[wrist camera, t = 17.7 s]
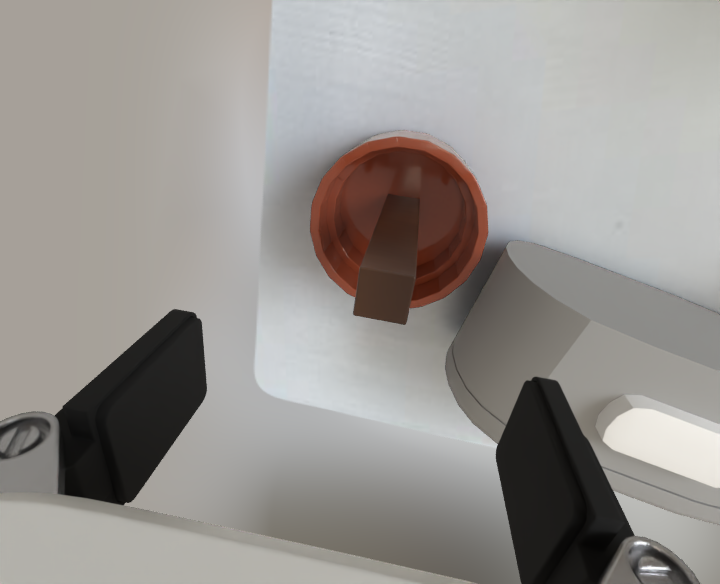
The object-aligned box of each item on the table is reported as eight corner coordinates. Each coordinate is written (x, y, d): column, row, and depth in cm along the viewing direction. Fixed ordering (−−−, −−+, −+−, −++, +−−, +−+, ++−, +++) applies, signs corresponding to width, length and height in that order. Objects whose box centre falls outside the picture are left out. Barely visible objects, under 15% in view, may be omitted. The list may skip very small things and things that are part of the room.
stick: (382, 224, 30) (352, 315, 17) (387, 193, 29) (359, 267, 16) (413, 229, 30) (405, 325, 17) (420, 198, 29) (416, 276, 16)
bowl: (322, 263, 33) (305, 293, 28) (336, 119, 28) (317, 123, 23) (456, 287, 32) (462, 322, 27) (496, 143, 27) (512, 153, 22)
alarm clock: (439, 323, 34) (446, 448, 22) (491, 223, 29) (537, 310, 17) (659, 406, 34) (785, 572, 22) (744, 320, 30) (959, 470, 18)
